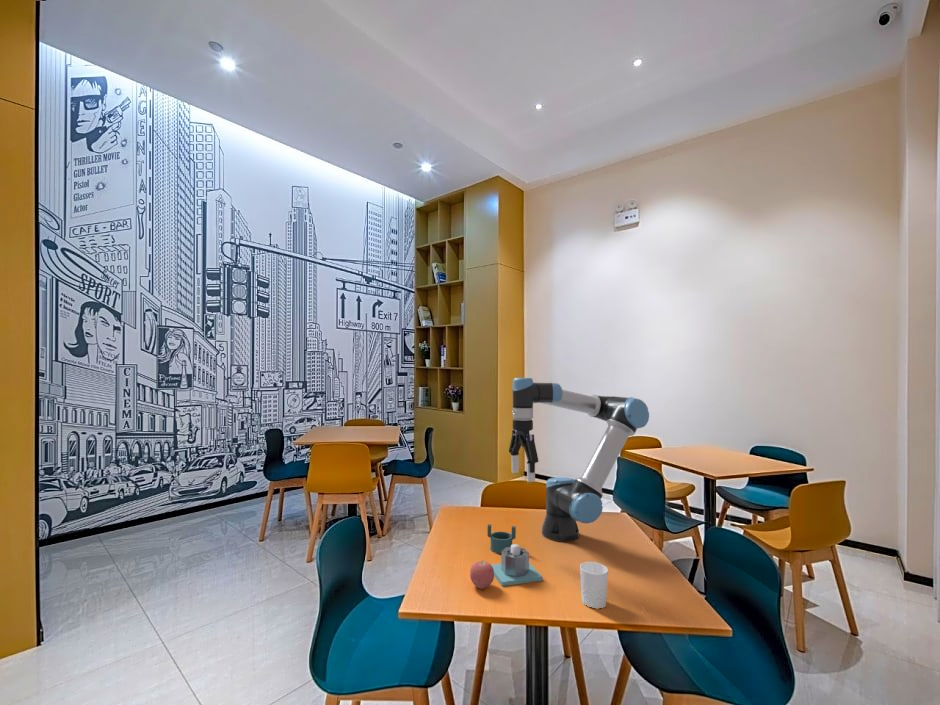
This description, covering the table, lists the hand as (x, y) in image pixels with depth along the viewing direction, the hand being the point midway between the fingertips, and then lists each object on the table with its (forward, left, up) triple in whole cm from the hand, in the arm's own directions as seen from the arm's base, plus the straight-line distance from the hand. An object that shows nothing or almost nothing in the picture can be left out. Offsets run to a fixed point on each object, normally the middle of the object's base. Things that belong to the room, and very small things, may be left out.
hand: (522, 477), depth 152 cm
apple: (+21, +17, -29) cm, 40 cm away
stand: (+8, +13, -28) cm, 32 cm away
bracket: (+5, -7, -29) cm, 30 cm away
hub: (+8, +13, -27) cm, 31 cm away
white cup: (-7, +34, -29) cm, 45 cm away
